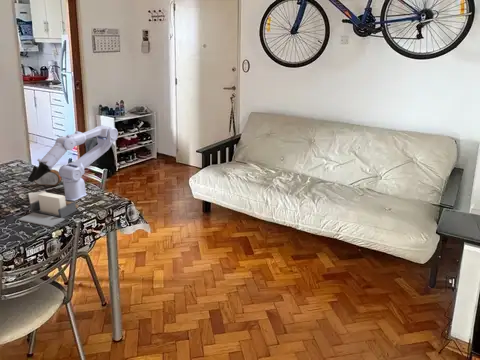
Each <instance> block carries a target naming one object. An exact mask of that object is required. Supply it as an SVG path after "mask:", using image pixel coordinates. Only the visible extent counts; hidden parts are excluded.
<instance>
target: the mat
mask: <svg viewBox="0 0 480 360" xmlns="http://www.w3.org/2000/svg"><path fill="white" fill-rule="evenodd" d="M65 220H66V218H58V217H53V216H49V215H44V214H39V213H34V212H33V213H31V212H30V213H29V214H26V215H24V216H22V217H20V218H18V220H17V221H21V222H25V223H30V224H33V225H39V226H44V227H48V228H52V227H55V226H56V225H57V224H60V223H62V222H63V221H65Z"/></svg>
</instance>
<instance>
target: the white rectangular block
mask: <svg viewBox="0 0 480 360" xmlns="http://www.w3.org/2000/svg"><path fill="white" fill-rule="evenodd" d="M38 198H39V205H40V210H39V211H41V212H46V213H51V214H56V215H59V213H58V209H60V208H63V207H65V206H66V201H67V200H65V195H62V194H57V193H52V192H47V193H46V192H43V193H41V194H38Z"/></svg>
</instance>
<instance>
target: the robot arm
mask: <svg viewBox="0 0 480 360" xmlns="http://www.w3.org/2000/svg"><path fill="white" fill-rule="evenodd" d="M118 134H119V133H118V129H117V128H116V127H111V126H105V125H102V124H101V125H97V126H96V127H94V128H92V129H89V130H87V131H84V132H81V131H74V133H72V134H67V135H65V136H60V137H57V138H56V139H55V144H53V146H52V147H51V148H50V150H48V152H47V153H46V154H45V155H43V157H42V158H41V159H40V158H37V159H36V161H37V162H38V166H36V165H33V167H32V171H31V173H30V175H28V176H29V177H28V178H27V181H28V182H29V183H34V181H35V180H38V179H39V178H40V177H42V176H43V175H44V174H46V173H48V172H50V171H51V169H52V168H53V167H54V166H55V165H56V164H57V163H58V162H59V161H60V159H61V158H62V157H63V156H64V155H65V154H66V153H67V152H68V151H73V149H74V148H75V147H77V146H80V145H83V144H85V143H86V141H87V140H89V139H93V138H96V143H97V144H96V145H95V146H93V147H92V148H91V149H90V150H89V151H87V152H85V153H84V154H83V155H81V156H80V157H79V158H78V159H76V160H75V161H71V162H68V163H67V164H62V165H61V166H60V167H59V169H58V172H59V175H60V177H62V180H61V181H62V182H63V190H64V196H65V201H70V202H76V201H77V200H79V199H82V198H83V197H85V196H88V193H87V191H86V184H85V180H84V178H82V177H83V175H84V174H85V172H86V171H85V169H86V168H88V167H89V166H90V165H92V164H93V162H95V161H96V160H98V159H99V158H100V157H102V156H103V155H104V154H105V153H107V151H109V150H110V148H111V147H112V144H113V143H114V142H115V141H117V140H118V136H119V135H118Z"/></svg>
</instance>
